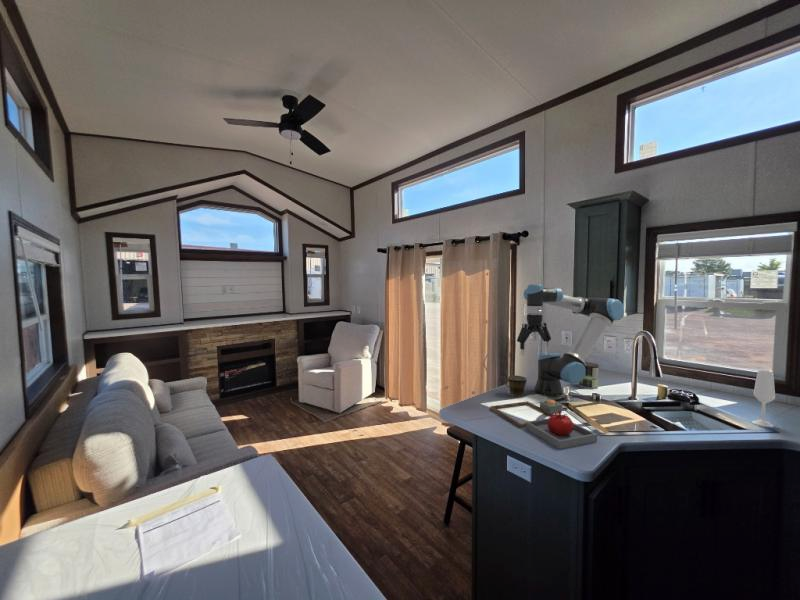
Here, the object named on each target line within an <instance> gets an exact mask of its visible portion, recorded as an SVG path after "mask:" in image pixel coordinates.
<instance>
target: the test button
mask: <svg viewBox="0 0 800 600" xmlns="http://www.w3.org/2000/svg"><path fill="white" fill-rule="evenodd" d="M546 401H547V402H546V404H548V405H555V402H556V400H554V399H551V398H548V399H546Z"/></svg>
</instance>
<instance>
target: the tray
mask: <svg viewBox="0 0 800 600" xmlns="http://www.w3.org/2000/svg"><path fill="white" fill-rule="evenodd" d="M549 418H550V417H547V418H541V419H536V420H535V419H534V420H530V421H525V423H526V427H525V429H526V430H527V431H529V432H531V433H532V434H534V436H537V437H539V438H540V439H542V440H544V441H545V442H547V443H548V444H550V445H552V447H553V446H554V447H555V448H557V449H559V450H562V449H563V450H564V449H568V448H572V447H573V448H574V447H577V446H578V447H579V446H582V445H588V444H593V443H597V442H598V434H597V433H596V432H593V431H591V430H589V429H587V428H585V427H583V426H581V425H579V424H578V423H577V424H576V423H574V422H573V425H574V429H573V431H572V432H571V433H570V434H568V435H563V436H560V435H556V434H554V433H552V432H551V431H550V430H549V429H548V424H547V422H548V420H549Z"/></svg>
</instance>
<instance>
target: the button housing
mask: <svg viewBox="0 0 800 600" xmlns="http://www.w3.org/2000/svg"><path fill="white" fill-rule="evenodd" d="M546 402H547V400H543V401H539V407H540V408H542V409H544V410H546V411H548V412H550V413H553V414H554V413H555V414H559V412H558V411H561V414H562V413H563V411H562V410H563V409H562V408H563V405H562V404H561V403H559V402H557V401H555V405H548V404H546ZM555 414H554V415H555Z"/></svg>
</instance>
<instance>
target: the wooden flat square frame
mask: <svg viewBox="0 0 800 600" xmlns="http://www.w3.org/2000/svg"><path fill="white" fill-rule="evenodd" d="M522 406H528V407H530V408H532V409H534V410H537V411H539V412H540V413H543V414H544V415H546V416H548V417H549V418H550V417H551V416H552V415H555V414H552V413H550V412H548V411H546V410H544V409H542V408H540V406H538V405H536V404H534V403H532V402H530V401H527V400H526V401H519V402H514V403H512V402H511V403H507V404H506V403H505V404H499V405H498V404H497V405H491V406H489V410H490V411H492V412H493V413H495V414H496V415H499V416H500V417H502V418H503V419H505V420H507V421H508V422H510V423H511V424H513V425H514V426H516V427H518V428H519V429H526V422H523V423H521V422H519V421H517V420H516V419H514V418H512V417H510V416H509V415H507V414H506V413H504V412H502V411H501V409H508V408H515V407H522Z"/></svg>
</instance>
